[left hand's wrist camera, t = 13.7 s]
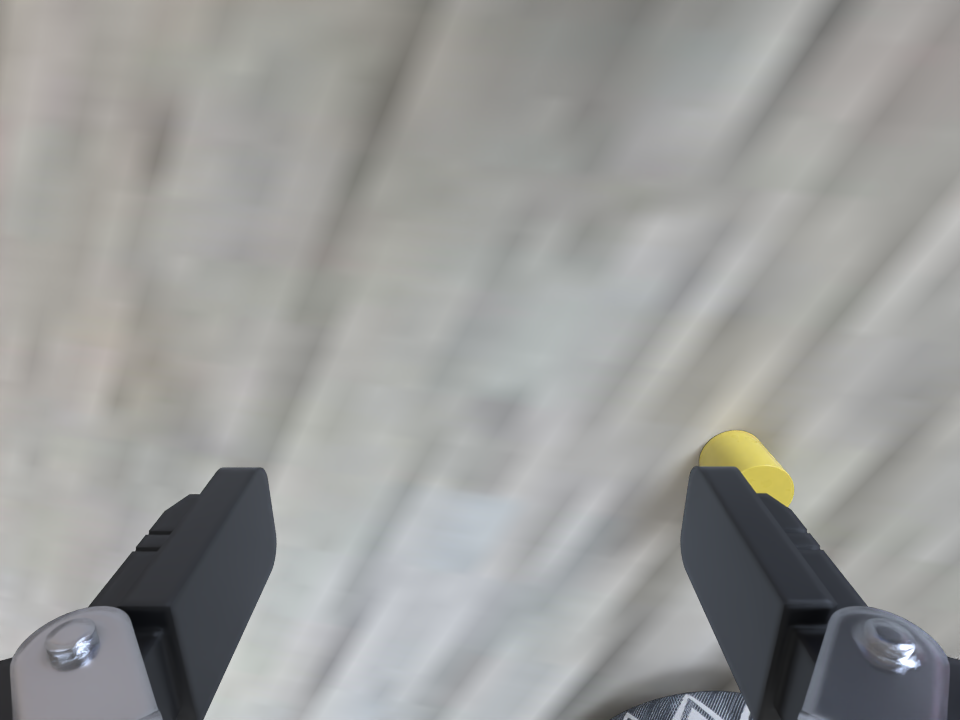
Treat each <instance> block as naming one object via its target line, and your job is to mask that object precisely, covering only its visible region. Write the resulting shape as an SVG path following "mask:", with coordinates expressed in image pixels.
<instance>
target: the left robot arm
mask: <svg viewBox="0 0 960 720" xmlns="http://www.w3.org/2000/svg"><path fill="white" fill-rule="evenodd" d="M681 554H682V560H683V564H684V567H685V570H686V572H687V574H688V577H689V579H690V581H691V583H692V585H693V588H694V590H695V592H696V594H697V596H698V599H699V601H700V603H701V605H702V608H703V610H704V612H705V614H706V616H707V619H708V621H709V623H710V625H711V627H712V630H713V632H714V634H715V636H716V638H717V641H718V643H719V645H720V647H721V649H722V652H723V654H724V656H725V658H726V660H727V663H728V665H729V667H730V669H731V671H732V674H733V676H734V678H735V680H736V682H737V685H738V687H739V689H740V691H741V693H742V696H743V698H744V700H745V702H746V705H747V707H748V709H749V711H750V713H751V716H752V718H753V720H960V660H958V659H954V658H950V657H947V656H946V654H945V653H944V651H943V649H942V648H941V647H940V646H939V644H938V643H937V642H936V641H935V640H934V639H933V638H932V637H931V636H930V635H929V634H927V633H926V632H925V631H923V630H922V629H921V628H919V627H918V626H916V625H915V624H913V623H912V622H910V621H908V620H906V619H904V618H902V617H900V616H898V615H895V614H893V613H890V612H887V611H884V610H881V609H877V608H872V607H868V606H867V605H866V603H865V602H864V601H863V600H862V598H861V597H860V596H859V595H858V593H857V592H856V591H855V590H854V588H853V587H852V586H851V585H850V583H849V582H848V581H847V580H846V578H845V577H844V576H843V574H842V573H841V572H840V571H839V569H838V568H837V567H836V566H835V564H834V563H833V562H832V561H831V559H830V558H829V557H828V556H827V554H826V553H825V552H824V550H820V545H819V544H818V543H817V542H816V540H815V539H814V538H813V537H812V535H811V534H810V533H807V529H806V528H805V527H804V525H803V524H802V523H801V521H800V520H799V519H798V518H797V516H796V515H795V514H794V513H793V511H792V510H791V509H789V508H788V507H786V506H785V505H783V504H782V503H780V502H779V501H778V500H776V499H775V498H773V497H772V496H770V495H769V494H767V493H756V492H755V491H754V489H753V488H752V486H751V485H750V484H749V482H748V481H747V480H746V478H745V477H744V476H743V474H742V473H741V472H740V470H739V469H738V468H737V467H734V466H696V467H694V468H693V469H692V470H691V472H690V476H689V482H688V489H687V496H686V502H685V509H684V516H683V523H682V530H681ZM275 555H276V532H275V525H274V518H273V511H272V504H271V498H270V491H269V484H268V478H267V474H266V472H265V470H264V469H263V468H220V469H219V470H218V471H217V472H216V473H215V475H214V476H213V477H212V479H211V480H210V481H209V483H208V484H207V485H206V487H205V488H204V489H203V491H202V492H201V493H200V494H189V495H188V496H186V497H185V498H183V499H182V500H181V501H179V502H178V503H176V504H175V505H173V506H172V507H170V508H169V509H167V510H166V511H165V512H164V513H163V514H162V515H161V517H160V518H159V519H158V520H157V522H156V523H155V524H154V525H153V527H152V528H151V529H150V530H149V535H145V537H144V538H143V539H142V540H141V542H140V543H139V544H138V545H137V547H136V551H135V552H132V553H131V554H130V555H129V557H128V558H127V559H126V560H125V562H124V563H123V564H122V565H121V567H120V568H119V569H118V570H117V572H116V573H115V574H114V575H113V577H112V578H111V579H110V580H109V582H108V583H107V584H106V585H105V587H104V588H103V589H102V590H101V592H100V593H99V594H98V595H97V597H96V598H95V599H94V600H93V602H92V603H91V604H90V605H89V607H88V608H83V609H79V610H76V611H73V612H70V613H67V614H65V615H62V616H60V617H58V618H56V619H54V620H52V621H50V622H48V623H47V624H45V625H44V626H42V627H41V628H39V629H38V630H37V631H35V632H34V633H33V634H31V635H30V636H29V637H28V638H27V639H26V640H25V641H24V642H23V643H22V644H21V646H20V647H19V648H18V649H17V651H16V653H15V654H14V656H13V658H9V659H5V660H2V661H0V720H203V719H204V717H205V715H206V713H207V710H208V708H209V706H210V704H211V702H212V700H213V697H214V695H215V693H216V691H217V689H218V686H219V684H220V682H221V680H222V678H223V676H224V673H225V671H226V669H227V667H228V665H229V663H230V660H231V658H232V656H233V654H234V652H235V649H236V647H237V645H238V643H239V641H240V639H241V636H242V634H243V632H244V630H245V628H246V626H247V623H248V621H249V619H250V617H251V615H252V612H253V610H254V608H255V606H256V604H257V602H258V599H259V597H260V595H261V593H262V591H263V588H264V586H265V584H266V582H267V580H268V578H269V575H270V573H271V571H272V568H273V565H274V561H275Z"/></svg>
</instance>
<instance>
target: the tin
mask: <svg viewBox="0 0 960 720" xmlns="http://www.w3.org/2000/svg"><path fill="white" fill-rule="evenodd" d="M699 466H734V467H737V468H738V469H739V470H740V472H741V473H742V474H743V476H744V477H745V478H746V480H747V481H748V482H749V484H750V485H751V486H752V488H753V489H754V491H755V492H756V493H767V494H769V495H770V496H772V497H773V498H775V499H776V500H778V501H779V502H780V503H782V504H783V505H785V506H786V507H788V506H789V505H790V503H791V501H792V499H793V495H794V485H793V481H792V479H791V477H790V476H789V475H788V473H787V472H786V471H785V470H784V469H783V468H782V466H781V465H780V464H779V463H778V462H777V461H776V460H775V458H774V457H773V456H772V455H771V454H770V453H769V452H768V450H767V449H766V448H765V447H764V446H763V445H762V444H761V442H760V441H759V440H758V439H757V438H756V437H755V436H754V435H752V434H750V433H748V432H745V431H740V430H733V431H727V432H723V433H721V434H719V435H717V436H715V437H714V438H712V439H711V440H710V441H709V442H708V443H707V444H706V445H705V446H704V448H703V450H702V452H701V454H700V459H699Z"/></svg>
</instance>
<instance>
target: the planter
mask: <svg viewBox="0 0 960 720" xmlns="http://www.w3.org/2000/svg"><path fill="white" fill-rule="evenodd" d="M610 720H753V718H752V716H751V713H750V711H749V709H748V707H747V705H746V702H745V700H744V698H743V696H742V693H738V692H727V691H700V692H689V693H682V694H676V695H671V696H667V697H663V698H659V699H655V700H652V701H649V702H646V703H643V704H641V705H638V706H636V707H633V708H631V709H629V710H627V711H624V712H622V713H621V714H619V715H617V716H615V717H613V718H612V719H610Z"/></svg>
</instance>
